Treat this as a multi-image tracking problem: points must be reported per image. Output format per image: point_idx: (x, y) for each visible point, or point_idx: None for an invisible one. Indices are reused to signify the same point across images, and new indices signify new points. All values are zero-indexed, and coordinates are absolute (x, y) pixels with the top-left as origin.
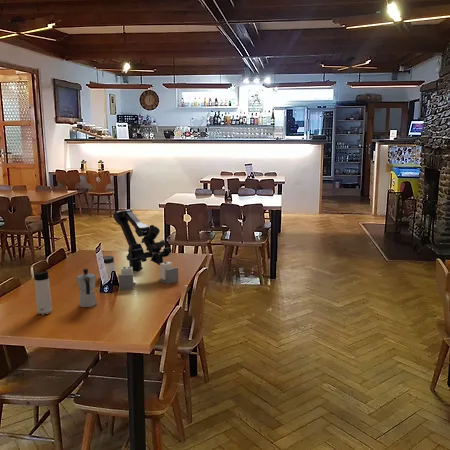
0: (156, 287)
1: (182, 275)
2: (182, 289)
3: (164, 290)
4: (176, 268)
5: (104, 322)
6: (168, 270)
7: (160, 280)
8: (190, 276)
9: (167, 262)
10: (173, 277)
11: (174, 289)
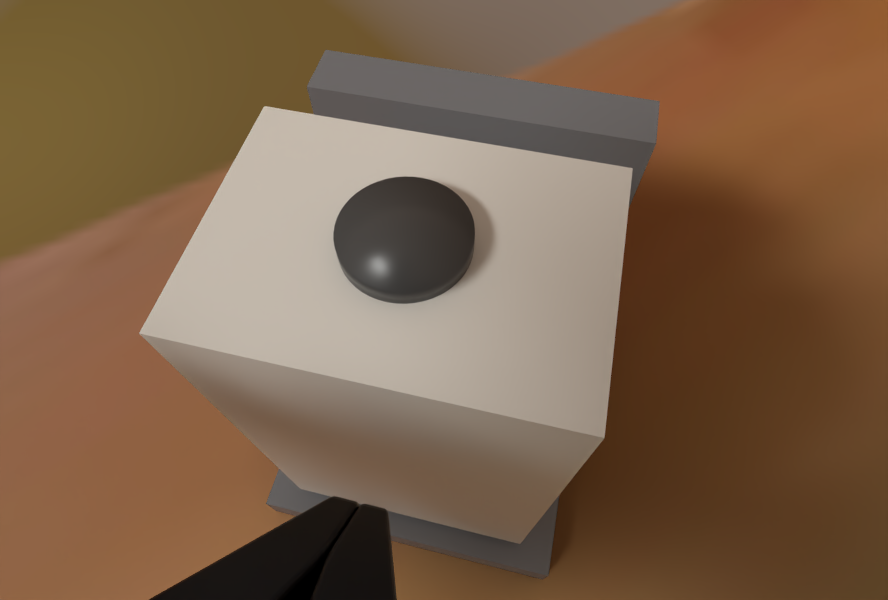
0: (827, 349)
1: (21, 399)
2: (613, 48)
3: (809, 175)
4: (373, 68)
5: None
6: (620, 109)
7: (553, 514)
8: (52, 253)
9: (360, 198)
10: None
11: (681, 108)
